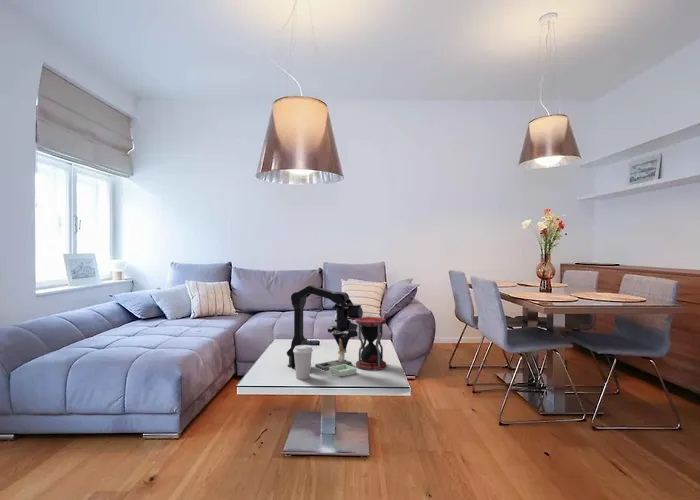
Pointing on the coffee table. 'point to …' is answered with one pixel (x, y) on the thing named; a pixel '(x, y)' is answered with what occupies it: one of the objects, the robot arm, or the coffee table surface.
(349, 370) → the parts tray
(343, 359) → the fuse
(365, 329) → the hourglass
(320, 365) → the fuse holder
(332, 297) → the robot arm
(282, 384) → the coffee table surface
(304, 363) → the coffee cup
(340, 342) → the fuse
